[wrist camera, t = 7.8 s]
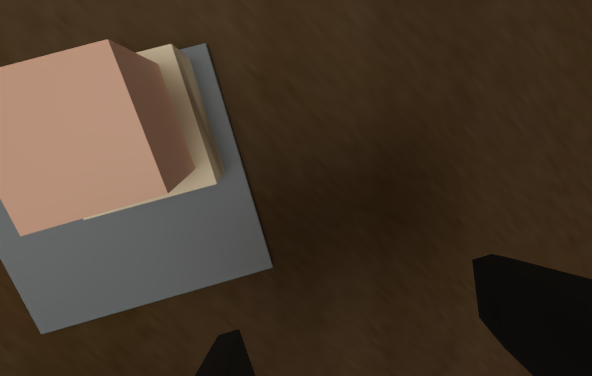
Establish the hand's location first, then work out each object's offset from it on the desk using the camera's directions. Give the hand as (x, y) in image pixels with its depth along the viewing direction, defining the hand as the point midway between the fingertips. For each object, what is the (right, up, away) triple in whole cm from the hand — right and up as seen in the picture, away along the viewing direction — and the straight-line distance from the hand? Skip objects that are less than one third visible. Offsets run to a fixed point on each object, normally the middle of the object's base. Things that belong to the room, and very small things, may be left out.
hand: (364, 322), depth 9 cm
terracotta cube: (-9, +6, +4) cm, 12 cm away
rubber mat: (-12, +3, +9) cm, 15 cm away
